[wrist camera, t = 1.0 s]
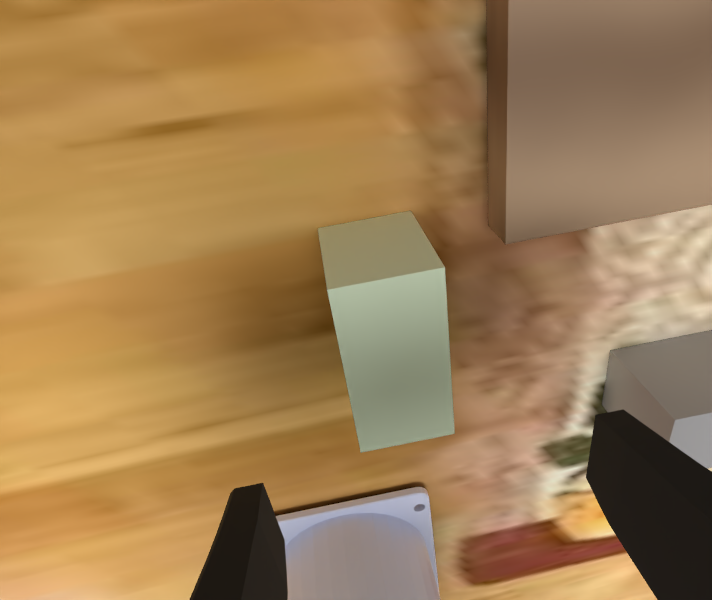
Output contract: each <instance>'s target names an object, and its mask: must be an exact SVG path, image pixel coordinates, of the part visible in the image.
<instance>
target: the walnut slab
mask: <svg viewBox="0 0 712 600" xmlns="http://www.w3.org/2000/svg"><path fill="white" fill-rule="evenodd" d="M486 27H487V141H488V225H489V227H490V228H491V229H492V230H493V231H494V232H495V233H496V234H497V235H498V237H499V238H500V239H501V240H502V241H503V242H504V243H505V244H511V243H516V242H521V241H526V240H531V239H536V238H541V237H547V236H552V235H557V234H562V233H567V232H572V231H578V230H583V229H588V228H593V227H598V226H603V225H609V224H614V223H619V222H624V221H629V220H634V219H640V218H645V217H650V216H655V215H660V214H665V213H671V212H676V211H681V210H686V209H691V208H696V207H701V206H707V205H712V0H486Z"/></svg>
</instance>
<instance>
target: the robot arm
mask: <svg viewBox="0 0 712 600" xmlns="http://www.w3.org/2000/svg"><path fill="white" fill-rule="evenodd" d="M586 478H587V480H588V482H589V484H590V486H591V489H592V491H593V493H594V495H595V497H596V499H597V501H598V503H599V505H600V507H601V509H602V511H603V513H604V515H605V517H606V519H607V521H608V523H609V524H610V526H611V528H612V529H613V531H614V532H615V534H616V536H617V537H618V539H619V540H620V542H621V544H622V545H623V547H624V548H625V550H626V551H627V553H628V554H629V556H630V558H631V559H632V561H633V562H634V564H635V565H636V567H637V569H638V570H639V572H640V573H641V575H642V576H643V578H644V579H645V581H646V582H647V584H648V586H649V587H650V589H651V590H652V592H653V593H654V595H655V596H656V598H657V599H658V600H712V472H711V471H710V470H708V469H707V468H705V467H704V466H702V465H701V464H700V463H698V462H697V461H695V460H694V459H692V458H691V457H690V456H688V455H687V454H685V453H684V452H682V451H681V450H680V449H678V448H677V447H675V446H674V445H673V444H671V443H670V442H668V441H667V440H666V439H664V438H663V437H661V436H660V435H659V434H657V433H656V432H654V431H653V430H652V429H650V428H649V427H647V426H646V425H645V424H643V423H642V422H640V421H639V420H638V419H636V418H635V417H634V416H632V415H631V414H629V413H628V412H626V411H625V410H624V409H622V410H617V411H613V412H608V413H603V414H598V415H596V416H595V423H594V429H593V436H592V442H591V449H590V455H589V462H588V468H587V474H586ZM190 600H441V599H440V594H439V585H438V575H437V566H436V557H435V548H434V538H433V529H432V520H431V511H430V501H429V496H428V492H427V490H426V489H425V488H423V487H414V488H409V489H404V490H399V491H394V492H389V493H385V494H380V495H375V496H370V497H365V498H361V499H356V500H351V501H346V502H341V503H336V504H332V505H327V506H322V507H317V508H312V509H307V510H303V511H298V512H293V513H288V514H283V515H278V516H275V513H274V511H273V508H272V505H271V503H270V500H269V498H268V495H267V492H266V490H265V487H264V484H263V483H260V484H255V485H250V486H245V487H240V488H235V489H234V490H233V491H232V492H231V493H230V496H229V499H228V502H227V505H226V508H225V511H224V514H223V517H222V520H221V523H220V525H219V528H218V531H217V534H216V536H215V539H214V541H213V544H212V547H211V549H210V552H209V554H208V557H207V559H206V562H205V564H204V567H203V569H202V571H201V574H200V576H199V579H198V581H197V583H196V586H195V588H194V590H193V593H192V595H191V597H190Z"/></svg>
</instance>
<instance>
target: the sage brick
mask: <svg viewBox="0 0 712 600" xmlns="http://www.w3.org/2000/svg"><path fill="white" fill-rule="evenodd" d="M318 234H319V241H320V247H321V254H322V260H323V266H324V273H325V279H326V286H327V292H328V297H329V301H330V306H331V311H332V316H333V321H334V326H335V330H336V335H337V340H338V345H339V350H340V354H341V359H342V364H343V369H344V374H345V379H346V383H347V388H348V393H349V398H350V403H351V408H352V412H353V417H354V422H355V427H356V432H357V436H358V441H359V446H360V451H361V453H362V452H367V451H372V450H377V449H382V448H386V447H391V446H396V445H401V444H406V443H411V442H416V441H421V440H426V439H431V438H436V437H441V436H446V435H451V434H455V431H454V414H453V397H452V380H451V363H450V346H449V329H448V312H447V295H446V277H445V267H444V265H443V263H442V262H441V260H440V258H439V257H438V255H437V253H436V252H435V250H434V248H433V247H432V245H431V243H430V242H429V240H428V238H427V237H426V235H425V233H424V232H423V230H422V228H421V227H420V225H419V223H418V222H417V220H416V218H415V217H414V215H413V213H412V212H411V211H406V212H401V213H395V214H390V215H385V216H380V217H374V218H369V219H364V220H358V221H353V222H348V223H343V224H337V225H332V226H327V227H321V228H318Z"/></svg>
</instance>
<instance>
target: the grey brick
mask: <svg viewBox="0 0 712 600" xmlns="http://www.w3.org/2000/svg"><path fill="white" fill-rule="evenodd" d="M602 406H603V407H604V408H605V409H606V411H607V412H613V411H617V410H622V409H624V410H625V411H626V412H628V413H629V414H631V415H632V416H634V417H635V418H636V419H638V420H639V421H640V422H642V423H643V424H645V425H646V426H647V427H649V428H650V429H652V430H653V431H654V432H656V433H657V434H659V435H660V436H661V437H663V438H664V439H666V440H667V441H668V442H670V443H671V444H673V445H674V446H675V447H677V448H678V449H680V450H681V451H682V452H684V453H685V454H687V455H688V456H690V457H691V458H692V459H694V460H695V461H697V462H698V463H700V464H701V465H702V466H704V467H705V468H711V467H712V330H709V331H704V332H699V333H694V334H689V335H684V336H679V337H674V338H669V339H664V340H659V341H654V342H649V343H644V344H639V345H635V346H630V347H625V348H620V349H615V350H610V356H609V362H608V368H607V375H606V381H605V387H604V394H603V400H602Z"/></svg>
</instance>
